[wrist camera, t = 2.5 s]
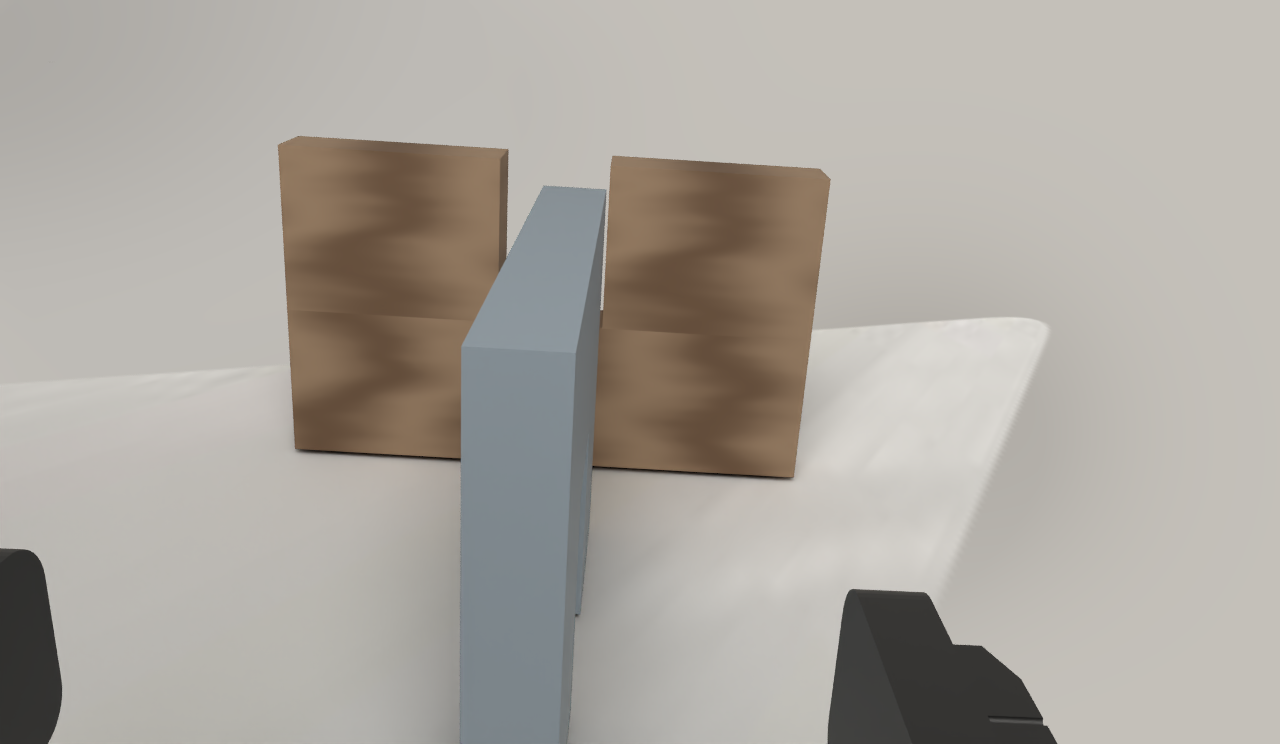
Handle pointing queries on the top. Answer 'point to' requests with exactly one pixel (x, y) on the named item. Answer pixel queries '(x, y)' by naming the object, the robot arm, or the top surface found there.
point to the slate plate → (529, 473)
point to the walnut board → (630, 320)
